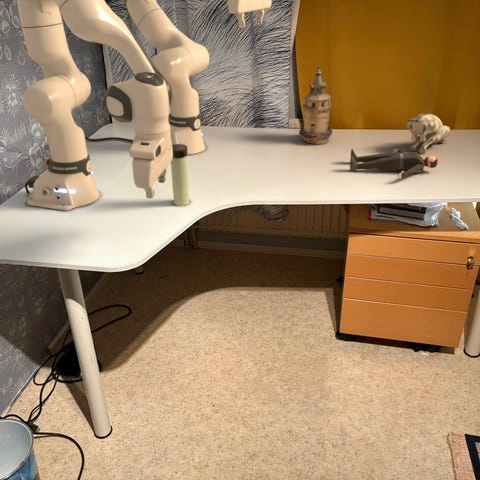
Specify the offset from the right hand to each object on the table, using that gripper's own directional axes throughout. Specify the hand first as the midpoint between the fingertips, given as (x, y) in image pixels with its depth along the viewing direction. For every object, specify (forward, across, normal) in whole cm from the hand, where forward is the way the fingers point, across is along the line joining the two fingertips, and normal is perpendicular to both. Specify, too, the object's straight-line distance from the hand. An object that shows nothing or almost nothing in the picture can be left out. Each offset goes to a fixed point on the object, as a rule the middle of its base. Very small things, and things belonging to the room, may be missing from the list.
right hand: (250, 25), depth 175 cm
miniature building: (+48, -37, +7) cm, 61 cm away
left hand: (+33, +61, +10) cm, 70 cm away
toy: (+48, -23, +45) cm, 70 cm away
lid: (+30, +40, 0) cm, 50 cm away
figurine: (+48, -52, +48) cm, 86 cm away
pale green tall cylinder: (+48, +40, 0) cm, 62 cm away
